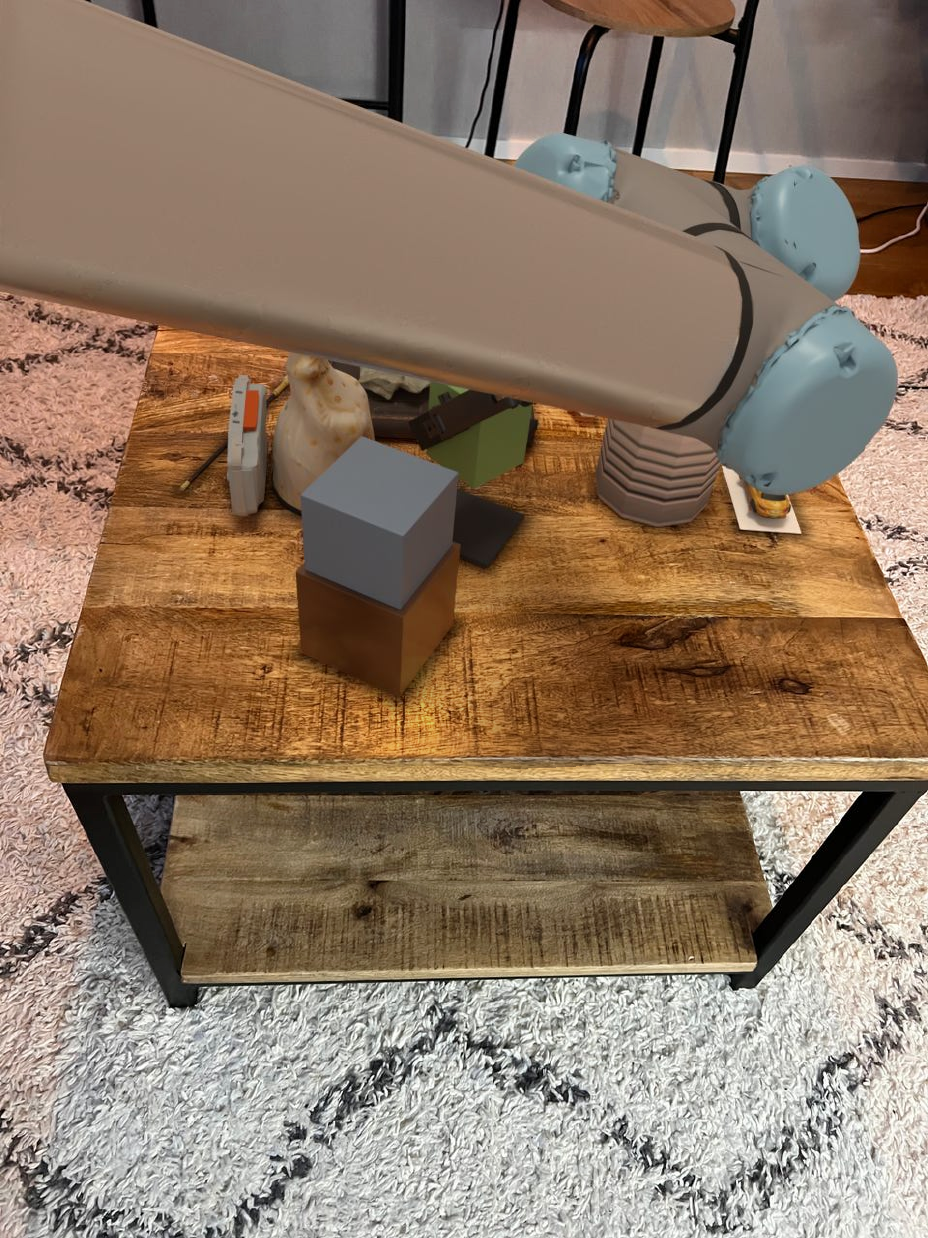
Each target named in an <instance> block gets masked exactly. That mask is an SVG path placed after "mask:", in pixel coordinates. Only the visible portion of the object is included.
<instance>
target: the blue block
mask: <svg viewBox="0 0 928 1238" xmlns="http://www.w3.org/2000/svg"><path fill="white" fill-rule="evenodd" d="M458 482H459V478H458V472H456V471H453V470H451V469H448V468H445V467H443V466H441V465H440V464H438V463H436V462H432V461H430V460H427V459H424V458H421V457H418V456H416V455H413V454H411V453H408V452H405V451H402V450H400V449H397V448H394V447H391V446H389V445H386V444H384V443H381V442H379V441H376V440H375V441H373V440H371V439H368V438H365V437H363V436H361V437H360V438H359V439H358V440H357V441H356V442H355V443H354V444H353V445H352V446H351V447H350V448H349V449H348V450H347V451H346V452H345V453H343V454H342V455H341V456H340V457H339V458H338V459H337V460H336V461H335V462H334V463H333V464H332V465H331V466H330V467H329V468H328V469H327V470H326V471H325V472H324V473H323V474H322V475H321V476H320V477H319V478H317V479H316V480H315V481H314V482H313V483H312V484H311V485H310V486H309V487H308V488H307V489H306V490H305V491H304V492H303V493H302V494H301V512H302V516H301V525H302V542H303V558H304V559H303V560H304V562H305V570H307V571H310V572H312V573H314V574H317V575H319V576H321V577H324V578H326V579H328V580H331V581H333V582H335V583H338V584H340V585H343V586H345V587H347V588H350V589H352V590H354V591H357V592H359V593H361V594H364V595H366V596H368V597H371V598H373V599H375V600H378V601H380V602H383V603H385V604H387V605H390V606H392V607H394V608H397V609H399V610H401V609H402V607H403V606H404V605H405V604H406V602H407V601H408V600H409V599H410V597H411V596H412V595H413V594H414V592H415V591H416V590H417V589H418V587H419V586H420V585H421V584H422V582H423V581H424V580H425V579H426V577H427V576H428V575H429V574H430V572H431V571H432V570H433V569H434V567H435V566H436V565H437V564H438V562H439V561H440V560H441V559H442V557H443V556H444V555H445V554H446V552H447V551H448V550H449V549H450V547H451V546H452V540H453V528H454V517H455V506H456V495H457V489H458V484H459V483H458Z"/></svg>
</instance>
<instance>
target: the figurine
mask: <svg viewBox="0 0 928 1238" xmlns="http://www.w3.org/2000/svg"><path fill="white" fill-rule="evenodd" d="M284 368H285V372H286V375H287V376H288V380H289V389H290V395H289V397H288V398H287V400H286V401H285V403H284V404H283V405H282V407H281V410H280V412H279V413H278V415H277V419H276V422H275V426H274V427H275V428H274V432H273V441H272V459H273V460H272V461H273V468H272V470H271V474H270V484H271V489H272V492H273V493H274V495H275V496H276V498H277V500H278V501H279V502H280V503H281V504H282V506H284V507H285V508H286V509H287V510H289V511H290V512H292V513H293V514H296V515H298V516H300V517H302V512H301V494H302V493H303V492H304V491H305V490H306V489H307V488H308V487H309V486H310V485H311V484H312V483H313V482H314V481H315V480H316V479H317V478H319V477H320V476H321V475H322V474H323V473H324V472H325V471H326V470H327V469H328V468H329V467H330V466H331V465H332V464H333V463H334V462H335V461H336V460H337V459H338V458H339V457H340V456H341V455H342V454H343V453H345V452H346V451H347V450H348V449H349V448H350V447H351V446H352V445H353V444H354V443H355V442H356V441H357V440H358V439H359V438H360V437H361V436H363V437H365V438H368V439H371V440H373V441H376V440H375V439H376V437H374V431H373V425H372V420H371V415H370V407H369V402H368V397H367V394H366V392H365V390H364V388H363V387H362V386H361V385H360V383H359V382H358V381H357V380H356V379H355V378H353V377H352V376H350V375H348V374H346V373H344V372H341V371H339V370H336V369H334V368H333V367H332V366H331V364H330V363H329V362H328V360H326V359H321V358H316V357H311V356H307V355H302V354H297V353H292V352H289V354H288V356H287V358H286V361H285V367H284Z"/></svg>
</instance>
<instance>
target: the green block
mask: <svg viewBox="0 0 928 1238" xmlns="http://www.w3.org/2000/svg"><path fill="white" fill-rule="evenodd" d="M467 390H469V389H465V388H460V387H455V386H450V385H445V384H441V383H436V382H431V381H430V396H429V410H430V409H432V407H434V406H436V405H440V402H439V399H438V397H437V396H439V395H441V394H443V393H445V392H449V394H450V396H451V398H454V397H456V396H458V395H460V394H462V393H464V392H466V391H467ZM531 410H532V405H530V406H528V407H523V406H521V405H520V404H519V405H518V407H516V408H514V409H512V408H511V409H510V408H509V409H507V410H505V411H503V412H500V413H498V414H496V415H494V416H492V417H490V418H488V419H486V420H484V421H482V422H480V423H477V424H475V425H473V426H471V427H469V428H470V429H468V430H466V431H464V432H462V433H460V434H458V435H456V436H453V438H451V439H449V440H445V441H443V442H441V443H439V444H437V445H434V446H432V447H430V448H428V449H426V450H425V451H426V452H425V453H426V454H425V455H426V456H427V457H428V458H430V459H431V460H432V461H434V463H436V464H437V465H440V466H443V467H445V468H448V469H451V470H453V471H456V472H458V480H460V481H461V482H463V483H464V484H466V485H467V486H468V487H470V488H471V489H473V490H476V489H478V488H479V487H481V486H483V485H485V484H488V483H489V482H491V481H492V480H494V479H496V478H498V477H500V476H502V475H504V474H506V473H508V472H509V471H511V470H513V469H514V468H516V467H518V466H521V465H523V464H524V463H525V458H526V457H525V456H526V451H527V445H528V444H527V437H528V430H529V423H530V417H531Z"/></svg>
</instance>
